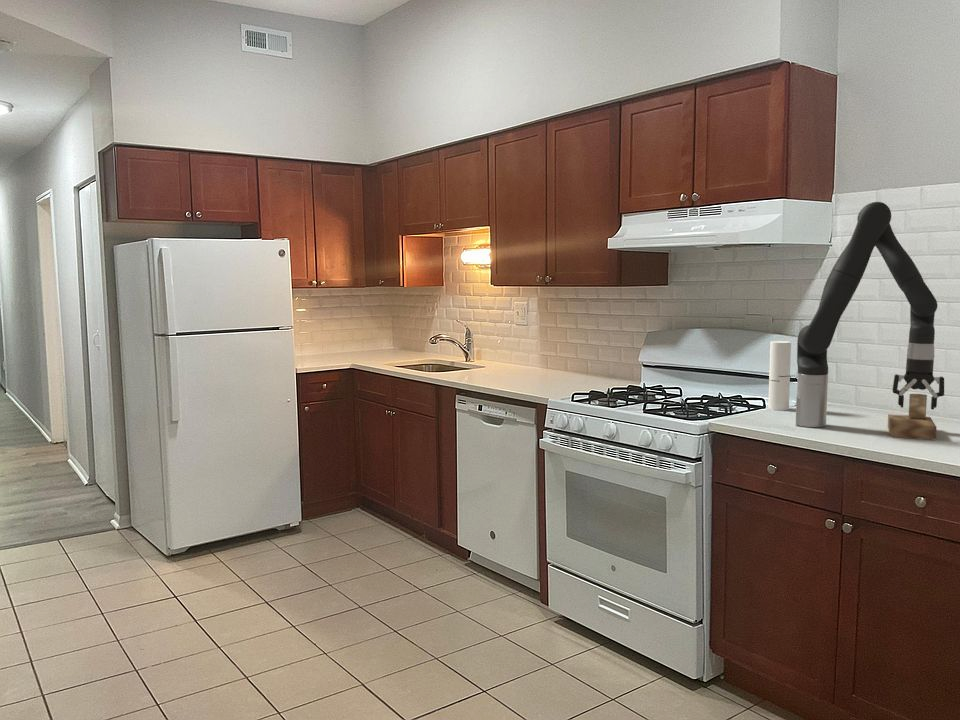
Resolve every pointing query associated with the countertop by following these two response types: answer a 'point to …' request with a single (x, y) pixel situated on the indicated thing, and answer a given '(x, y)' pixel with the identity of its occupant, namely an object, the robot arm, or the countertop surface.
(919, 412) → the peg
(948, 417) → the countertop surface
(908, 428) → the board
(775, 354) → the cylindrical container
